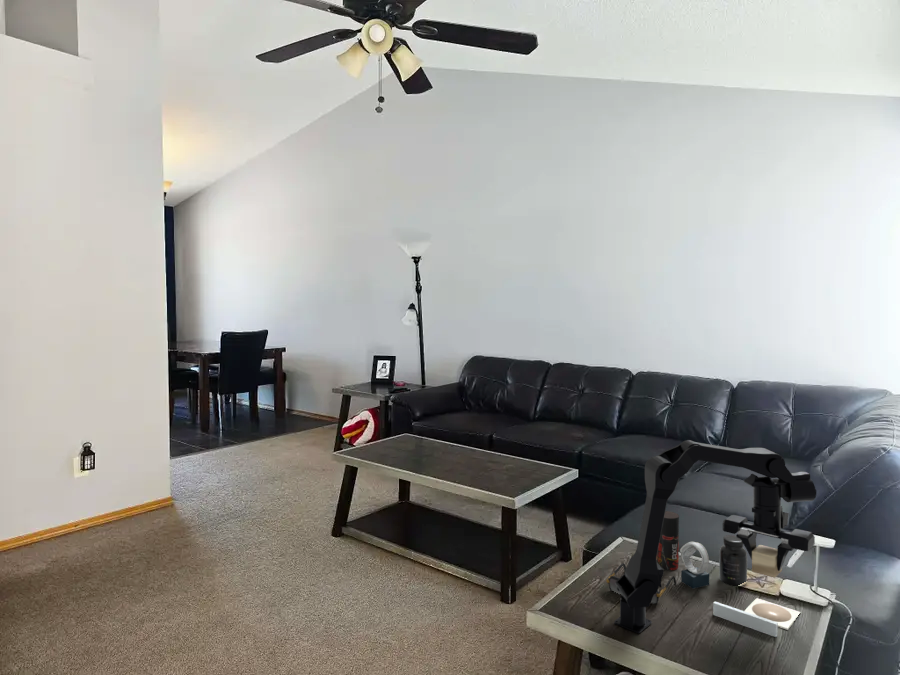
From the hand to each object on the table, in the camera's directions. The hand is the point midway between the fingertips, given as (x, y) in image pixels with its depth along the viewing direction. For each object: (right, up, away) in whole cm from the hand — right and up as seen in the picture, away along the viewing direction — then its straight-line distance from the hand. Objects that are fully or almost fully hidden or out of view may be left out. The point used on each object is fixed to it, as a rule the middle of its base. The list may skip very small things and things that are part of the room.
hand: (767, 566), depth 143 cm
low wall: (-6, -13, -2) cm, 14 cm away
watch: (-10, -12, +19) cm, 24 cm away
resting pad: (+2, -12, +3) cm, 13 cm away
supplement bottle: (+1, -12, +20) cm, 23 cm away
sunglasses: (-25, -13, +17) cm, 32 cm away
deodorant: (-13, -11, +29) cm, 34 cm away
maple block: (0, -1, 0) cm, 1 cm away
